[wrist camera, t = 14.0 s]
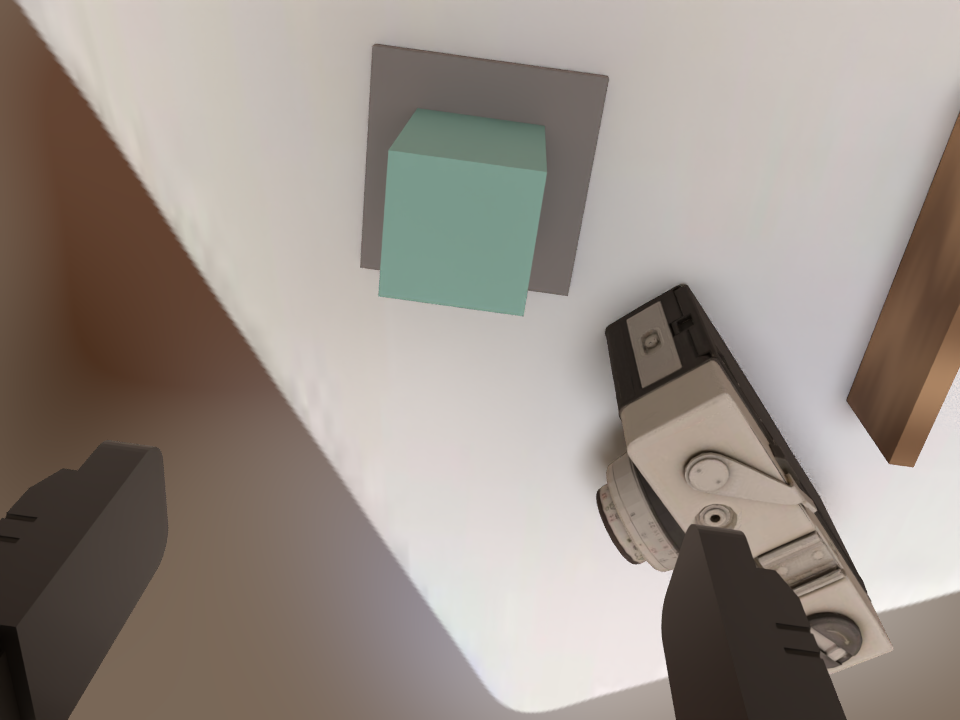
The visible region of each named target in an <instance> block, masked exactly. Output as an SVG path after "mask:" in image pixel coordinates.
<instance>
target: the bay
mask: <svg viewBox="0 0 960 720" xmlns="http://www.w3.org/2000/svg"><path fill="white" fill-rule="evenodd" d="M959 367H960V113H959V116H958V118H957V121H956V123H955V126H954V128H953V131H952V134H951V136H950V139H949V141H948V144H947V146H946V149H945V151H944V154H943V156H942V159H941V161H940V164H939V167H938V169H937V172H936V174H935V177H934V179H933V182H932V184H931V187H930V189H929V192H928V195H927V197H926V200H925V202H924V205H923V207H922V210H921V212H920V215H919V217H918V220H917V223H916V225H915V228H914V230H913V233H912V235H911V238H910V240H909V243H908V245H907V248H906V251H905V253H904V256H903V258H902V261H901V263H900V266H899V268H898V271H897V273H896V276H895V278H894V281H893V284H892V286H891V289H890V291H889V294H888V296H887V299H886V301H885V304H884V306H883V309H882V312H881V314H880V317H879V319H878V322H877V324H876V327H875V329H874V332H873V334H872V337H871V340H870V342H869V345H868V347H867V350H866V352H865V355H864V357H863V360H862V362H861V365H860V368H859V370H858V373H857V375H856V378H855V380H854V383H853V385H852V388H851V390H850V393H849V396H848V398H847V402H848V404H849V405H850V407H851V408H852V410H853V411H854V413H855V414H856V416H857V417H858V419H859V420H860V422H861V423H862V425H863V426H864V428H865V429H866V431H867V432H868V434H869V435H870V437H871V438H872V439H873V441H874V442H875V444H876V445H877V447H878V448H879V450H880V451H881V453H882V454H883V456H884V457H885V459H886V460H887V462H888V463H889V464H893V465H900V466H908V467H914V465H915V463H916V461H917V459H918V456H919V454H920V452H921V450H922V448H923V446H924V443H925V441H926V439H927V437H928V435H929V433H930V430H931V428H932V426H933V424H934V422H935V419H936V417H937V415H938V413H939V411H940V409H941V406H942V404H943V402H944V400H945V398H946V396H947V393H948V391H949V389H950V387H951V385H952V383H953V380H954V378H955V376H956V374H957V372H958V369H959Z"/></svg>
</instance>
